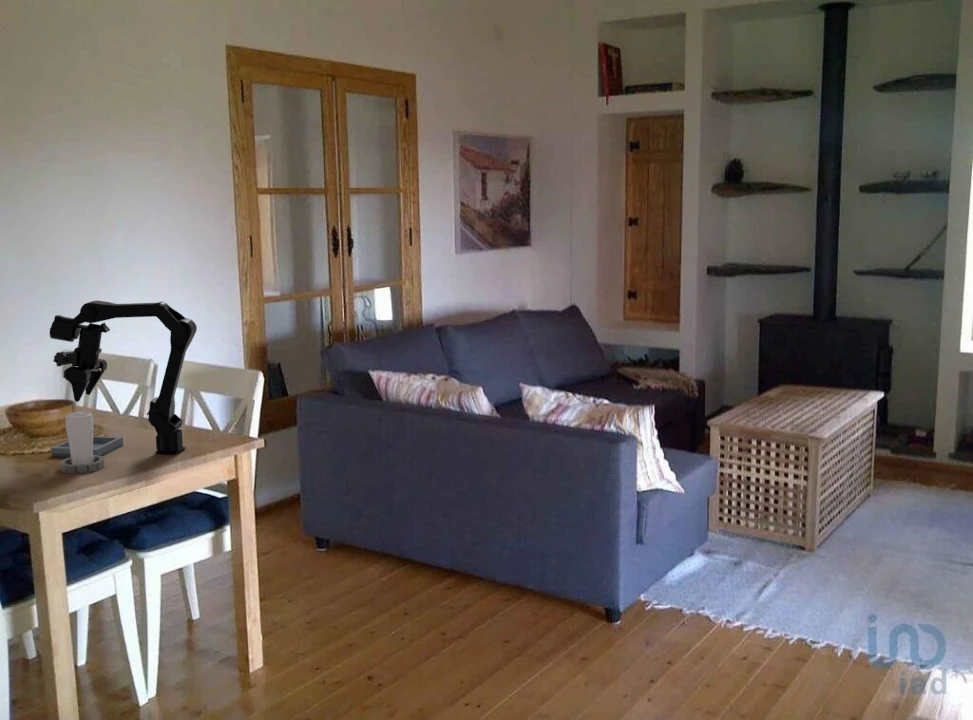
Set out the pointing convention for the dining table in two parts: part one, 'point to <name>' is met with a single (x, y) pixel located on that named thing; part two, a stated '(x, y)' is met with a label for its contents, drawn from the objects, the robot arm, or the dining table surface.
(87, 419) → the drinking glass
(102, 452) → the tray
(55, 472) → the dining table surface
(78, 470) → the holder ring
